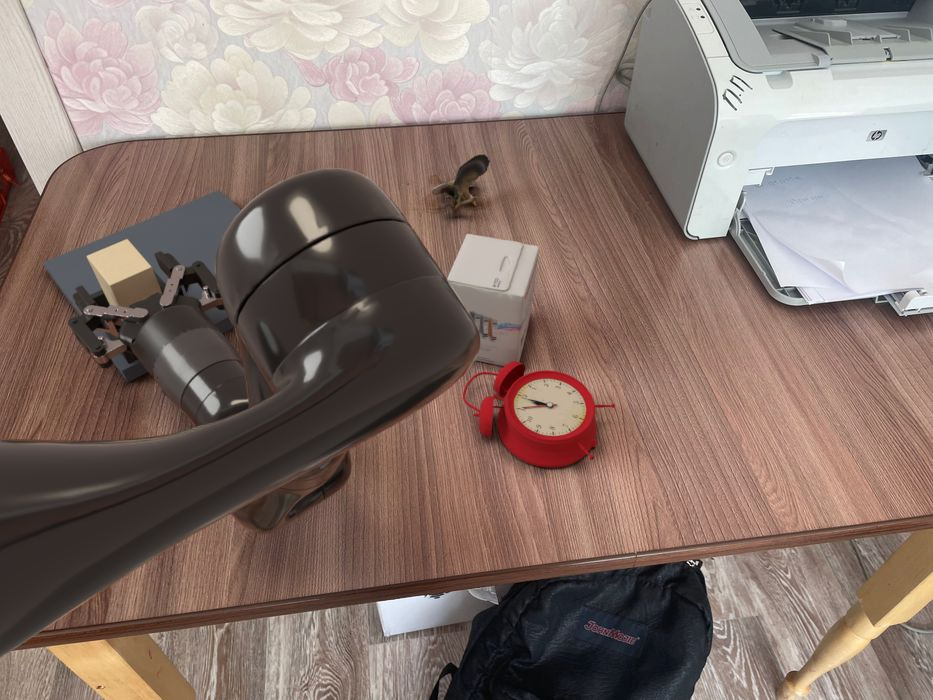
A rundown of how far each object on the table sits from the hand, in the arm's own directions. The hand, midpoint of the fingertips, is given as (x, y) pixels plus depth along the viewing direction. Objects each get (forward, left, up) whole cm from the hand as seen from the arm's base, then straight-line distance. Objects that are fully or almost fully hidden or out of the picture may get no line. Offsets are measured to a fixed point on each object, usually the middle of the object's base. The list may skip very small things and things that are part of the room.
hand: (121, 275), depth 75 cm
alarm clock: (+25, -38, -10) cm, 46 cm away
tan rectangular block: (0, 0, -7) cm, 7 cm away
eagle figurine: (+45, -4, -10) cm, 46 cm away
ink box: (+30, -26, -10) cm, 41 cm away
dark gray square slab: (+7, +6, -9) cm, 13 cm away
